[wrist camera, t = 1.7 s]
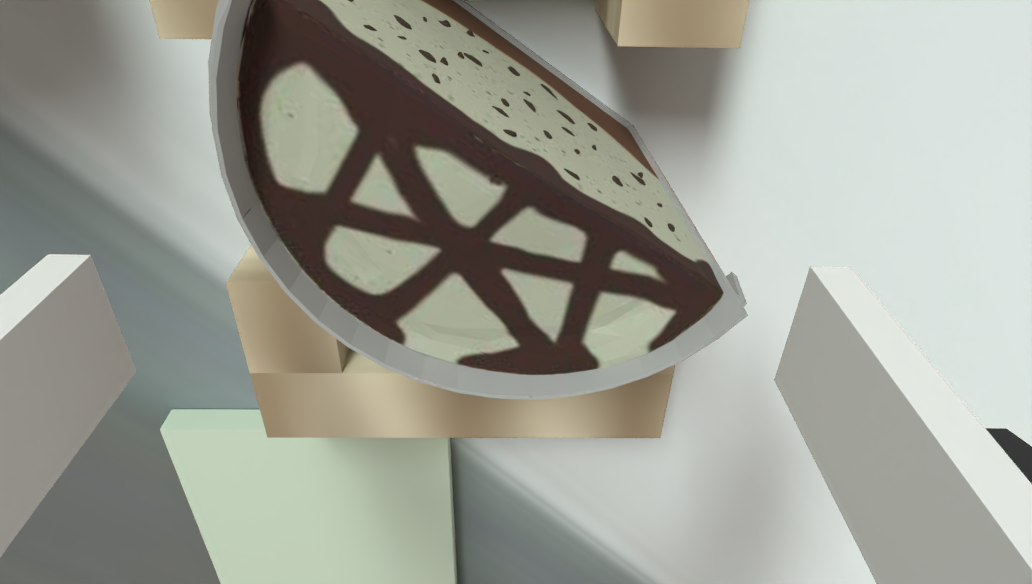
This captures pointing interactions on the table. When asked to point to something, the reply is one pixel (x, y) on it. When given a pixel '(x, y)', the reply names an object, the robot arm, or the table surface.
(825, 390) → the robot arm
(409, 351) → the food container
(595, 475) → the table surface
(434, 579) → the coaster
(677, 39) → the frame
